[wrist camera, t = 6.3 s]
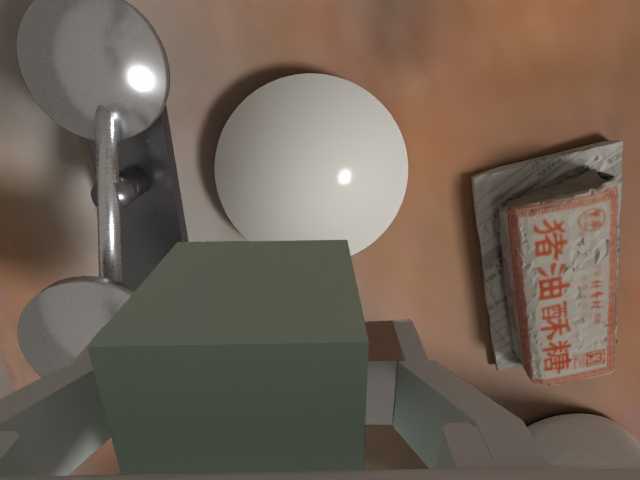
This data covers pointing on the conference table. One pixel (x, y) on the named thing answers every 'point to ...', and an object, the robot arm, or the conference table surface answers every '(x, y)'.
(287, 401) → the block
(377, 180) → the dish
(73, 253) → the conference table surface
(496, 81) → the conference table surface
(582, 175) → the packaged product
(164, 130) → the balance
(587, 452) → the vase
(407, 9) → the conference table surface
